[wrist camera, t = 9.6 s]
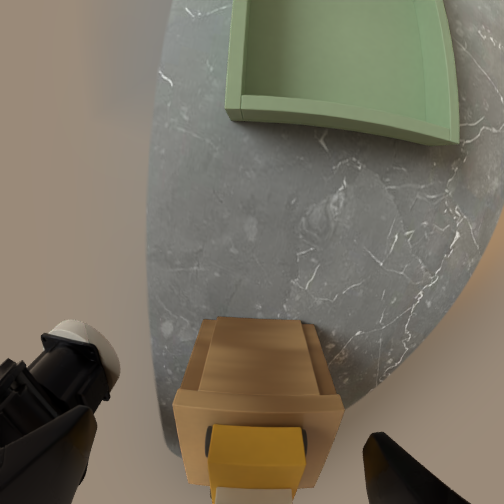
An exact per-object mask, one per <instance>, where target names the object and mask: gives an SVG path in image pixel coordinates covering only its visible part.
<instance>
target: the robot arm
mask: <svg viewBox="0 0 504 504" xmlns="http://www.w3.org/2000/svg"><path fill="white" fill-rule="evenodd" d="M41 340H42V343H43V347H44V351H43V352H42V353H41V354H40V355H39V356H38V357H37V358H36V359H35V360H34V361H33V362H32V363H31V364H30V365H29V366H28V368H27V367H26V364H25V363H24V362H23V360H22V361H20V362H18V363H17V364H16V362H13V361H12V360H10V359H9V358H8V359H6V360H5V361H4V362H3V363H2V364H1V365H0V504H71V503H72V500H73V497H74V495H75V492H76V490H77V487H78V486H79V485H80V484H81V482H82V481H83V479H84V477H85V474H86V471H87V465H88V460H89V455H90V451H91V448H92V444H93V441H94V438H95V434H96V430H97V422H96V420H95V417H94V413H95V411H96V409H97V408H98V406H99V405H100V403H101V401H102V400H104V401H109V399H110V397H111V396H110V393H109V388H108V384H107V381H106V377H105V374H104V370H103V368H102V364H101V361H100V357H99V352H98V349H97V347H96V346H95V345H94V344H92V343H87V342H82V341H77V340H73V339H68V338H64V337H60V336H56V335H52V334H47V333H43V334H42V335H41ZM363 461H364V471H365V480H366V489H367V495H368V499H369V504H471V503H469V502H468V501H466V500H465V499H464V498H462V497H461V496H459V495H458V494H457V493H456V492H454V491H453V490H451V489H450V488H449V487H448V486H447V485H446V484H444V483H443V482H442V481H441V480H439V479H438V478H437V477H436V476H435V475H433V474H432V473H431V472H430V471H429V470H427V469H426V468H425V467H424V466H423V465H421V464H420V463H419V462H418V461H417V460H415V459H414V458H413V457H412V456H411V455H410V454H408V453H407V452H406V451H405V450H404V449H403V448H402V447H400V446H399V445H398V444H397V443H396V442H395V441H393V440H392V439H391V438H390V437H389V436H388V435H386V434H385V433H384V432H376V433H372V434H371V435H370V436H369V438H368V440H367V442H366V444H365V445H364V448H363Z"/></svg>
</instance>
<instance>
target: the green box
mask: <svg viewBox="0 0 504 504" xmlns="http://www.w3.org/2000/svg"><path fill="white" fill-rule="evenodd" d="M225 110H226V112H227V114H228V116H229V118H230V120H231V121H254V122H272V123H286V124H298V125H309V126H318V127H326V128H334V129H342V130H349V131H355V132H362V133H368V134H374V135H379V136H385V137H390V138H395V139H400V140H404V141H409V142H414V143H418V144H422V145H426V146H440V145H455V144H459V101H458V87H457V76H456V67H455V60H454V53H453V46H452V40H451V35H450V29H449V24H448V20H447V15H446V11H445V7H444V3H443V0H233V7H232V17H231V28H230V40H229V52H228V65H227V79H226V94H225Z"/></svg>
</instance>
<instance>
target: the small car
mask: <svg viewBox="0 0 504 504" xmlns="http://www.w3.org/2000/svg"><path fill="white" fill-rule="evenodd" d="M307 447H308V440H307V433H306V430H305V429H301V427H250V426H232V425H219V424H214V425H213V426H208V428H207V431H206V437H205V456H206V457H207V458H208V460H207V464H208V473H209V481H210V497H211V499H212V504H293V502H292V501H293V499H294V496H295V494H296V491H297V489H298V486H299V484H300V481H301V478H302V476H303V473H304V470H305V467H306V455H307Z"/></svg>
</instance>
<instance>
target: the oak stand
mask: <svg viewBox="0 0 504 504" xmlns="http://www.w3.org/2000/svg"><path fill="white" fill-rule="evenodd" d="M172 405H173V411H174V417H175V422H176V428H177V433H178V438H179V443H180V448H181V453H182V457H183V462H184V466H185V471H186V475H187V479H188V483H189V484H196V485H204V486H210V481H209V473H208V464H207V460H208V458H207V457H206V456H205V437H206V431H207V428H208V426H213V425H214V424H219V425H232V426H250V427H301V429H305V430H306V433H307V440H308V447H307V455H306V467H305V470H304V473H303V476H302V478H301V481H300V484H299V486H298V489H300V488H314V486H315V484H316V482H317V480H318V477H319V475H320V473H321V471H322V468H323V466H324V464H325V461H326V459H327V456H328V454H329V452H330V449H331V447H332V444H333V441H334V439H335V436H336V434H337V431H338V428H339V426H340V423H341V420H342V417H343V414H344V411H345V409H344V406H343V403H342V400H341V397H340V395H339V394H337V393H336V390H335V387H334V384H333V380H332V377H331V374H330V371H329V368H328V365H327V362H326V359H325V356H324V353H323V350H322V347H321V344H320V341H319V338H318V335H317V332H316V329H315V327H314V324H301V321H300V320H276V319H253V318H234V317H217V320H207V319H203V322H202V324H201V327H200V330H199V333H198V336H197V339H196V342H195V345H194V348H193V351H192V354H191V357H190V360H189V363H188V365H187V368H186V371H185V374H184V377H183V380H182V383H181V386H180V389H178V390H177V392H176V395H175V398H174V401H173V404H172Z"/></svg>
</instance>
